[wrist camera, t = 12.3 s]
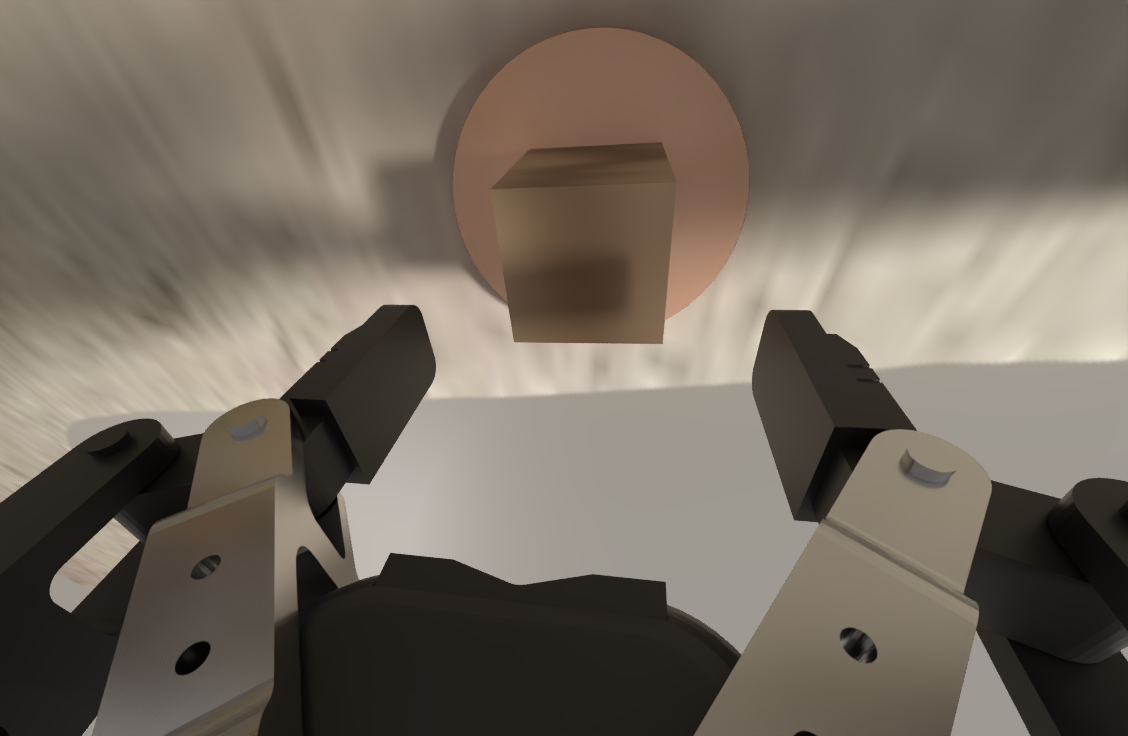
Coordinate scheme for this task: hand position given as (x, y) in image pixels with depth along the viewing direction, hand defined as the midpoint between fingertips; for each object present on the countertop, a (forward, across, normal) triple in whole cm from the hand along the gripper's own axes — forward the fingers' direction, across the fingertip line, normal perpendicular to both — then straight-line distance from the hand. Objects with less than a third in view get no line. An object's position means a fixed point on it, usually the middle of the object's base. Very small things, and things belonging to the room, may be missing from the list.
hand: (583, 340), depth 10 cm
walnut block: (+10, 0, 0) cm, 10 cm away
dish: (+11, 0, 0) cm, 11 cm away
